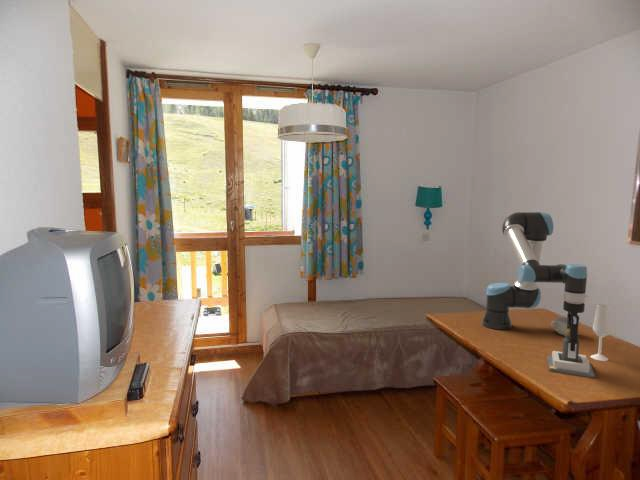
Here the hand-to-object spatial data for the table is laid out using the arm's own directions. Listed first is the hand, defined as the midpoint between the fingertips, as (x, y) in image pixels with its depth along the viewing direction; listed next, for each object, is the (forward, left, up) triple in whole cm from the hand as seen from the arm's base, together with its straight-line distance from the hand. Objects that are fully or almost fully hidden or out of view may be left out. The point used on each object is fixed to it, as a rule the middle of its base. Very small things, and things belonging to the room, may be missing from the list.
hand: (570, 354), depth 179 cm
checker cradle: (0, 0, -6) cm, 6 cm away
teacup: (-46, +1, -6) cm, 46 cm away
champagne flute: (-17, +13, -6) cm, 22 cm away
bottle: (0, 0, -5) cm, 5 cm away
